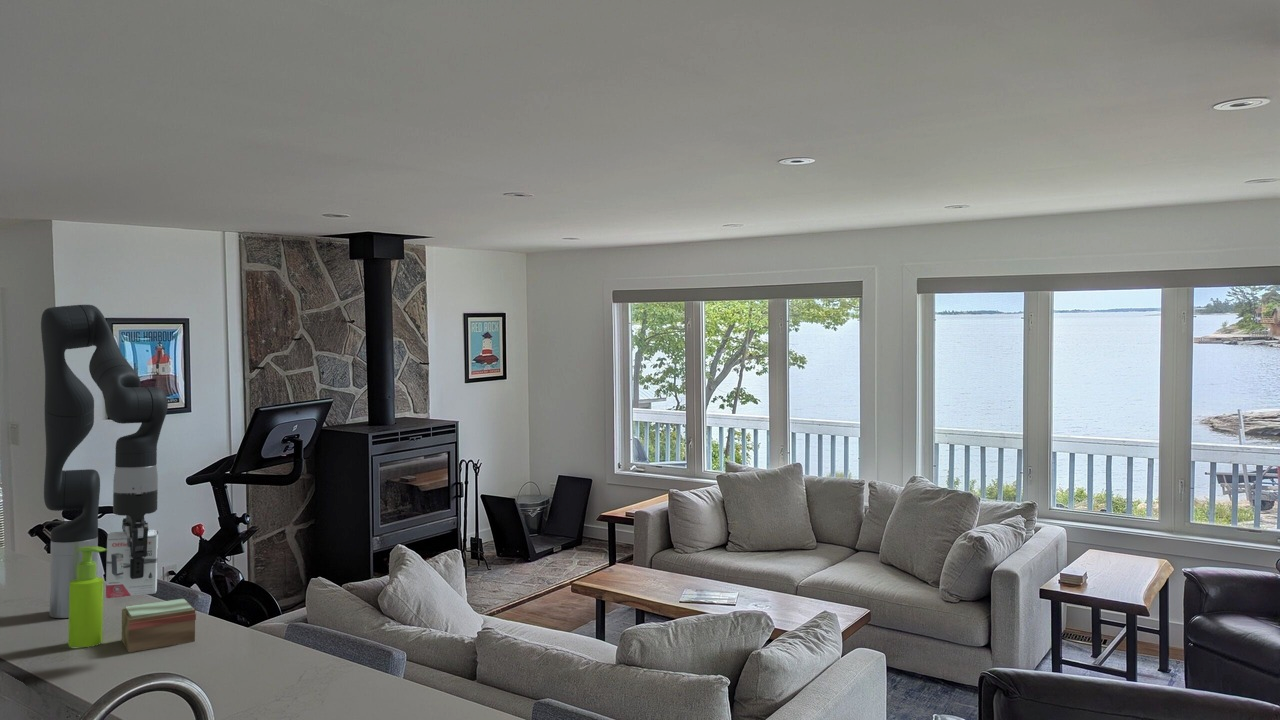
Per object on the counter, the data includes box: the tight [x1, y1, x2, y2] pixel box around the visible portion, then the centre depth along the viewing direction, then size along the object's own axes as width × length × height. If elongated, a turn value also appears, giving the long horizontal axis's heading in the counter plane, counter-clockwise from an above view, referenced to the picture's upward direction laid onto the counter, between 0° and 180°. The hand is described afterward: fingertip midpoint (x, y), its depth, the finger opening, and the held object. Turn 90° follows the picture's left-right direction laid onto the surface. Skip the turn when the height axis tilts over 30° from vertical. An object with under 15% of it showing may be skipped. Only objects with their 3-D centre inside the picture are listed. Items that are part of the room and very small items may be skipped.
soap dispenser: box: [67, 545, 107, 648], centre depth 177 cm, size 6×7×20 cm
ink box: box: [105, 529, 159, 599], centre depth 169 cm, size 9×5×12 cm, turn 119°
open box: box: [121, 598, 197, 653], centre depth 180 cm, size 11×12×7 cm
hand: (134, 574), depth 169 cm, fingers closed on ink box, 5 cm apart
